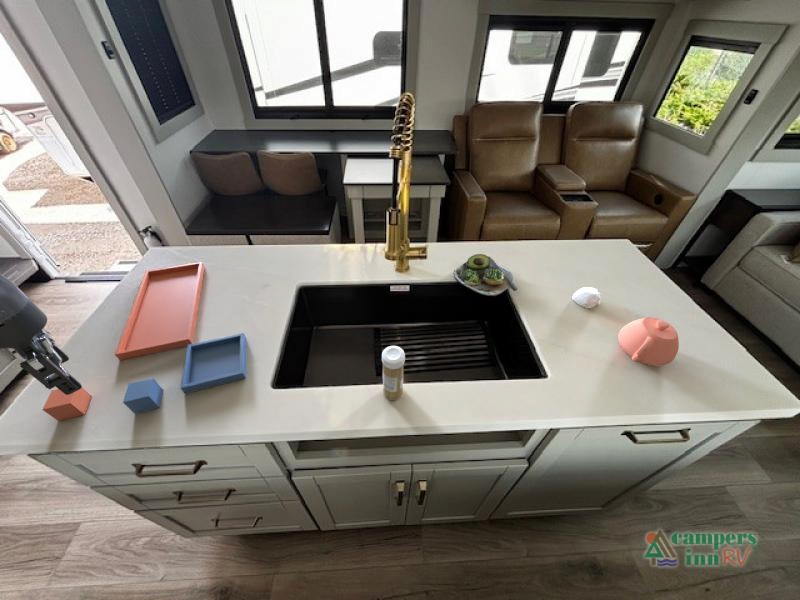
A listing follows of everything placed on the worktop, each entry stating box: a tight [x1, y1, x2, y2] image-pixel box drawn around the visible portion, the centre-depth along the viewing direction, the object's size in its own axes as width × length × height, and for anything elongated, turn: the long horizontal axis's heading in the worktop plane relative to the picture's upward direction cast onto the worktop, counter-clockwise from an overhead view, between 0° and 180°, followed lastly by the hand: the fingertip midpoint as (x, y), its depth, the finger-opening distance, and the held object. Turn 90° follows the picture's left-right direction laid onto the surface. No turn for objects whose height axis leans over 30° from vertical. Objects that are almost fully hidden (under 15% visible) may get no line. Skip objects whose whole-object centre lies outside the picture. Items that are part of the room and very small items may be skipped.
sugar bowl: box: [617, 316, 680, 367], centre depth 79 cm, size 12×14×10 cm
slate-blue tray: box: [180, 332, 247, 394], centre depth 76 cm, size 13×13×2 cm
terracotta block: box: [42, 387, 92, 422], centre depth 66 cm, size 4×4×4 cm
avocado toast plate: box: [453, 253, 519, 297], centre depth 101 cm, size 19×18×5 cm
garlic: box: [572, 287, 602, 309], centre depth 95 cm, size 8×7×4 cm
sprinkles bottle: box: [381, 345, 406, 401], centre depth 68 cm, size 5×5×14 cm
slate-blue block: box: [122, 377, 164, 415], centre depth 67 cm, size 4×4×4 cm
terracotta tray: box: [114, 261, 206, 361], centre depth 89 cm, size 16×34×2 cm, turn 19°
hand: (68, 375), depth 56 cm, fingers open, 8 cm apart
